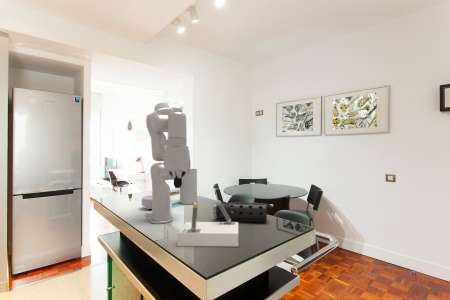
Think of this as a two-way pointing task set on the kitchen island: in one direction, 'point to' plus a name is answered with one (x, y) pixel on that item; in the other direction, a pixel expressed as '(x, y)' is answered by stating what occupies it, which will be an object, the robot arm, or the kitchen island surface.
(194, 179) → the cylinder vase
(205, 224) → the panel
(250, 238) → the kitchen island surface
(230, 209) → the muzzle brake
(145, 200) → the paper bowls
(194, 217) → the lever
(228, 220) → the lever
